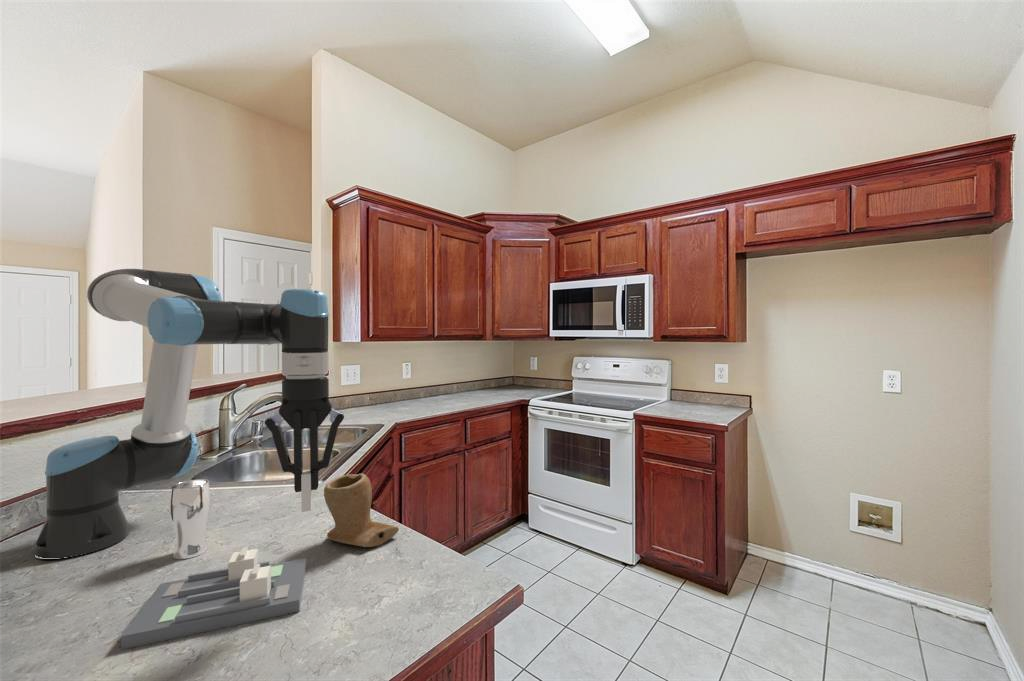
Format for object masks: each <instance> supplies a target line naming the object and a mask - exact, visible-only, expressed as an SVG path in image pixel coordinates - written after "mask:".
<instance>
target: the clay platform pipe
mask: <svg viewBox="0 0 1024 681" xmlns="http://www.w3.org/2000/svg"><path fill="white" fill-rule="evenodd" d="M372 490H373V489H372V483H371V480H370V478H369V477H368V476H367V475H366V473H365V474H364V473H358V474H353V473H347V474H344V475H340V476H337V477H336V478H334V479H331V481H329V482H328V483H326V484H325V487H324V488H323V491H324V492H323V496H324V500H325V504H326V506H327V509H328V510H329V513H330V515H331V516H332V518H333V521H334V527H333V528H331V529H330V530H329V531H328V532H327V534H326V537H327V538H328V539H329V540H331V541H332V542H333V541H334V542H337V543H341V544H346V545H350V546H351V545H352V546H357V547H363V548H372V547H378V546H381V545H383V544H385V543H386V542H388V541H389V540H390V539H392V538H393V537H395V535H397V533H398V532H399V531H400V528H399V526H395V525H391V524H387V523H383V522H382V523H381V522H378V521H372V519H371V508H372V506H371V505H372V499H373V498H372V497H373V495H372V494H373V493H372V492H373V491H372Z"/></svg>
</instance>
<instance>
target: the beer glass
mask: <svg viewBox="0 0 1024 681" xmlns="http://www.w3.org/2000/svg"><path fill="white" fill-rule="evenodd" d="M210 490H211V489H210V481H209V480H208V479H205V478H204V479H203V478H202V479H201V478H198V479H189V480H185V481H180V482H178V483H175V484H172V486H171V493H170V504H169V505H170V508H169V509H170V518H171V522H172V527H173V532H174V538H175V540H174V541H175V542H174V543H175V544H174V548H173V555H172V558H174V559H175V560H187V559H192V558H195V557H198V556H202V554H204V553H206V552H207V551H208V549H209V546H208V540H207V536H206V535H207V534H206V533H207V524H208V520H209V514H210V509H211V491H210Z"/></svg>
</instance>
